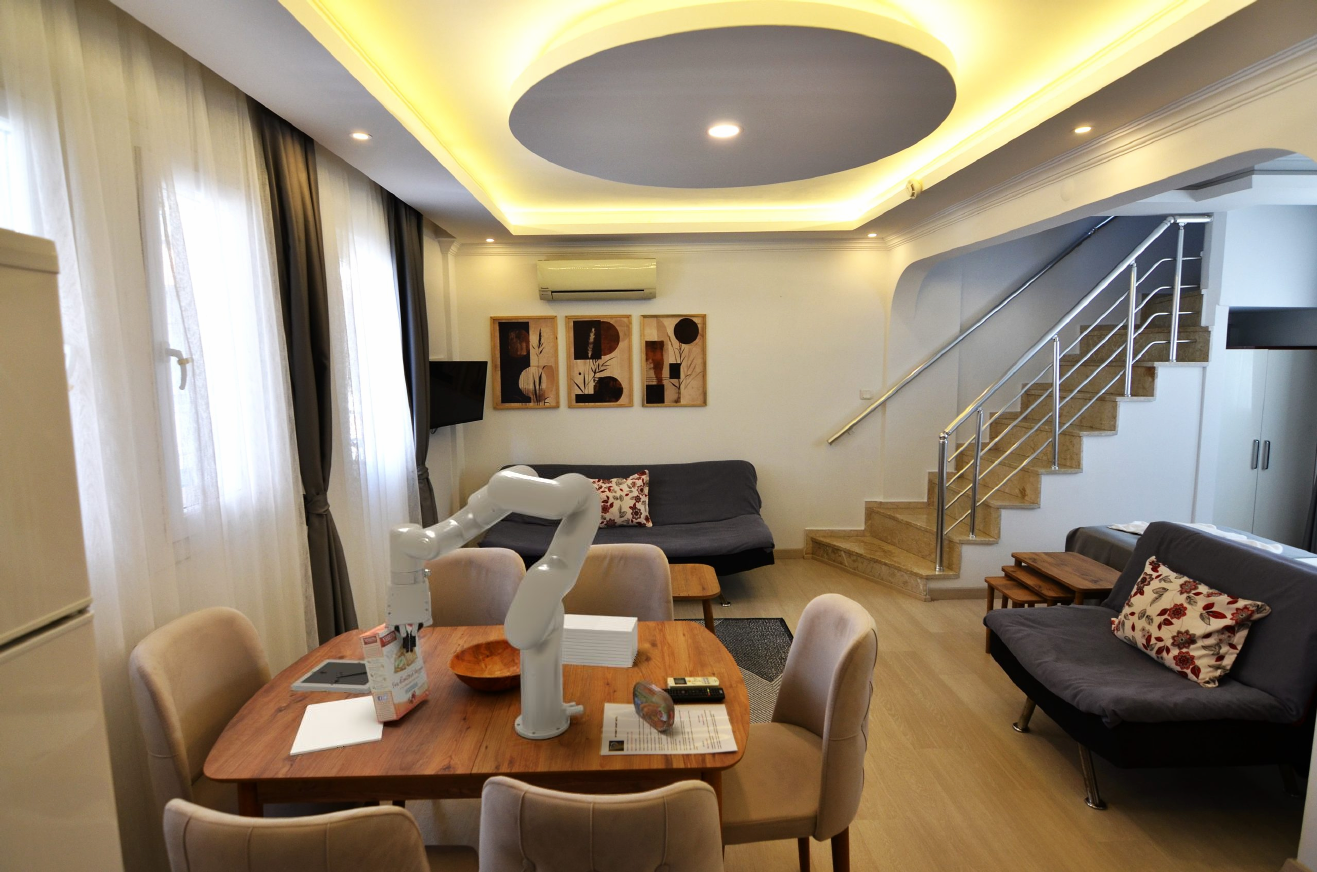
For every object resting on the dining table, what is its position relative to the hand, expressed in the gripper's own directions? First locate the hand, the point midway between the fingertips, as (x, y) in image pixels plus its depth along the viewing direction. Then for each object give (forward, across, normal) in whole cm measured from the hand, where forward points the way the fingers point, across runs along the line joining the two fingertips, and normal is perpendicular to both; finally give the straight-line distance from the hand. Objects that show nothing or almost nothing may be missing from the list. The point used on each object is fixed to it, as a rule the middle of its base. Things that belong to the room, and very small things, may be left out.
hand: (409, 650), depth 156 cm
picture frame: (+16, +17, -25) cm, 34 cm away
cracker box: (+14, +1, 0) cm, 15 cm away
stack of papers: (+16, -46, -17) cm, 51 cm away
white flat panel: (+15, +15, 0) cm, 22 cm away
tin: (+15, -54, +24) cm, 61 cm away
